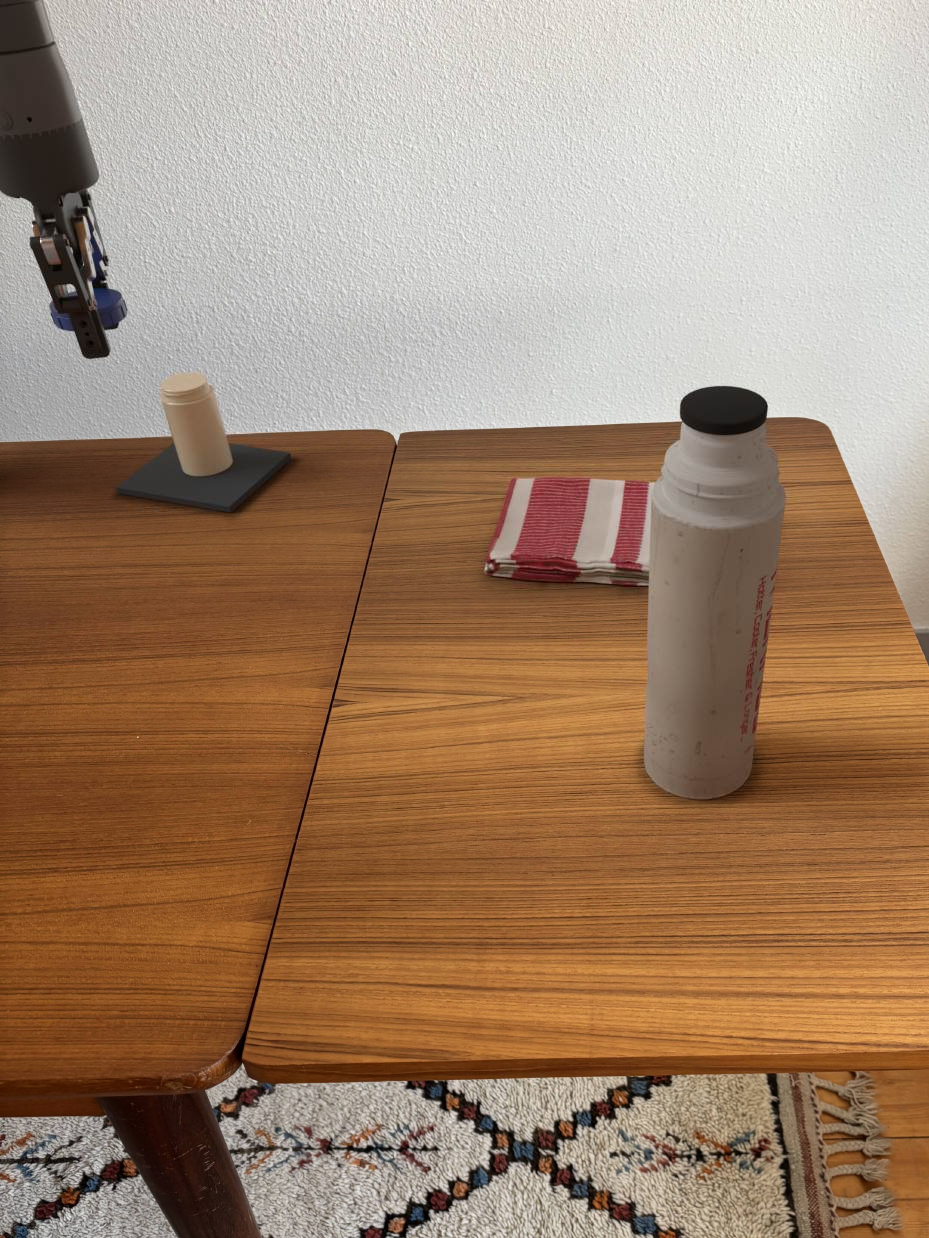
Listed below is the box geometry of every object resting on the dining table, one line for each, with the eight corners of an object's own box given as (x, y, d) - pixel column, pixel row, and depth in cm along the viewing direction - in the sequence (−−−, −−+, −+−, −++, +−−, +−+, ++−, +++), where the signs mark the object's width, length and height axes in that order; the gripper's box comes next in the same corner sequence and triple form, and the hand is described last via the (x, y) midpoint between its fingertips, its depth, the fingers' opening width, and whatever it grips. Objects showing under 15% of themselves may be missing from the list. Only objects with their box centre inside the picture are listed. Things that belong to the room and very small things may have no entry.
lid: (123, 327, 87) (117, 309, 86) (50, 335, 86) (43, 316, 85) (131, 302, 91) (125, 285, 90) (61, 309, 90) (55, 291, 89)
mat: (117, 493, 110) (115, 487, 110) (184, 442, 118) (182, 435, 118) (231, 513, 106) (229, 506, 106) (292, 459, 115) (290, 452, 114)
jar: (172, 474, 111) (146, 391, 105) (196, 450, 115) (172, 369, 109) (218, 478, 110) (195, 394, 104) (241, 454, 114) (220, 372, 108)
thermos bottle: (768, 746, 79) (818, 386, 59) (726, 814, 74) (766, 445, 54) (671, 713, 82) (690, 361, 62) (625, 777, 77) (629, 415, 58)
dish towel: (740, 592, 93) (743, 567, 91) (482, 581, 96) (480, 556, 94) (741, 497, 105) (743, 472, 104) (512, 488, 108) (510, 465, 106)
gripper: (65, 136, 74) (139, 370, 85) (92, 94, 84) (155, 307, 95) (-47, 146, 73) (43, 381, 84) (-5, 101, 83) (70, 316, 95)
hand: (102, 341), depth 90 cm, fingers closed on lid, 5 cm apart
